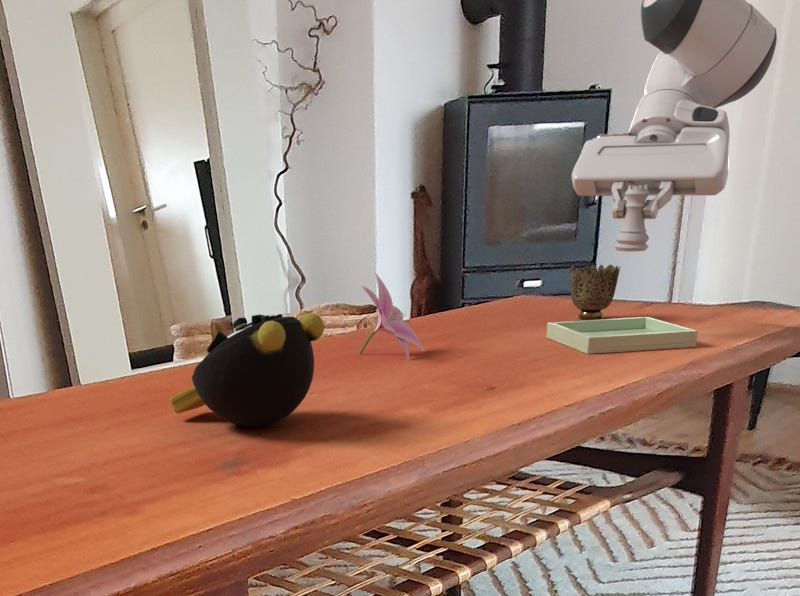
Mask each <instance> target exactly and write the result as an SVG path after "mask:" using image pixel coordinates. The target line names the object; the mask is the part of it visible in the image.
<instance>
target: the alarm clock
mask: <svg viewBox="0 0 800 596" xmlns="http://www.w3.org/2000/svg"><path fill="white" fill-rule="evenodd" d="M232 327H233V329H234V330H235V331H234V332H232V333H231V334H229V335H226V334H225V333H223V332H222V331H220V330H219V331H218V332H217V334H216V335H215V336H214V338H213V339H212V340H211V342H210V344H209V345H208V347H207V349H206V352H207V354H206V355H205V356H204V358H203V359H202V360H201V361H200V362H199V363H198V364H197V365H196V366H195V368H194V370H193V374H192V375H191V380H192V384H193V386H191V387H189V388H186V389H184V390H183V391H181V392H179V393H176V394H175V395H173V396H171V397H169V403H170V406H171V408H172V410H173V411H174V412H175V413H176V414H182V413H186V412H188V411H192V410H196V409H199V408H201V407H204V406H206V407H207V409H209V410H210V411H212V413H214V414H215V415H217V417H219V418H221V419H222V420H224V421H227V422H228V423H231V424H234V425H237V426H241V427H248V428H249V427H252V428H253V427H263V426H268V425H272V424H275V423H277V422H279V421H281V420H283V419H285V418H287V417H288V416H289V415H290V414H292V413H293V412H294V411H295V410H297V408H298V407H299V406H300V405H301V404H302V402H303V401H304V399H305V398H306V397H307V395H308V393H309V391H310V388H311V385H312V382H313V378H314V372H315V356H314V348H313V344H312V342H314V341H318V340H319V339H320V338H321V337H322V336H323V334H324V331H325V325H324V320H323V319H322V318H321V316H320V315H319V314H317V313H314V312H310V313H304V314H303V315H302V316H301V317H300V319H298V318H297V317H295V316H283V315H282V313H279V314H276V315H275V314H272V315H270V314H267V315H264V314H254V315H251V322H248V319H247V318H246V317H238V318H237V319H236V320H235V321H234V322H232Z"/></svg>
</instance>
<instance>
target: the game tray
mask: <svg viewBox="0 0 800 596" xmlns="http://www.w3.org/2000/svg"><path fill="white" fill-rule="evenodd" d="M698 332H699V330H696V329H692V328H689V327H686V326H682V325H678V324H676V323H671V322H667V321H664V320H661V319H657V318H654V317H650V316H639V317H638V316H636V317H619V318H603V319H602V318H601V319H600V320H584V321H583V320H569V321H552V322H547V324H546V336H545V337H546V339H549V340H551V341H553V342H555V343H556V342H557V343H559V344H561V345H563V346H565V347H566V346H567V347H569V348H571V349H574V350H577V351H579V352H581V353H584V354H586V355H593V354H594V355H595V354H608V353H609V354H610V353H622V352H623V353H627V352H639V351H641V352H642V351H654V350H655V351H656V350H670V349H685V348H686V349H687V348H696V347H697V340H698Z"/></svg>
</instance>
